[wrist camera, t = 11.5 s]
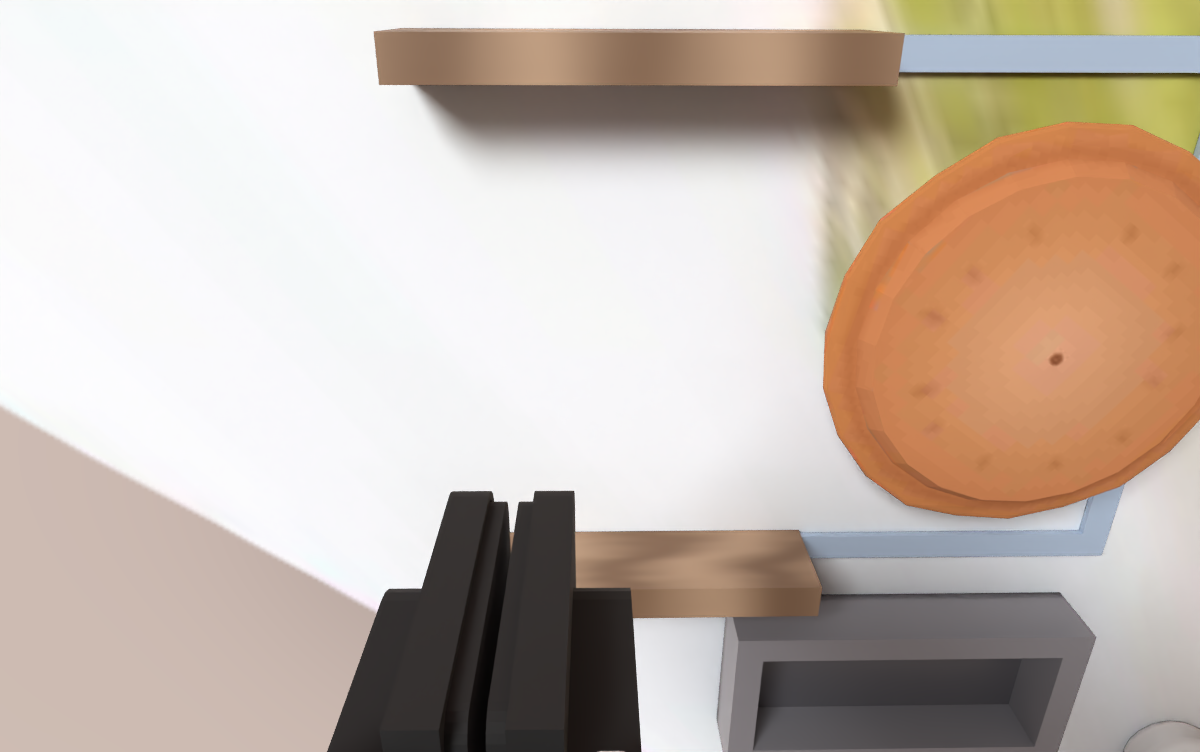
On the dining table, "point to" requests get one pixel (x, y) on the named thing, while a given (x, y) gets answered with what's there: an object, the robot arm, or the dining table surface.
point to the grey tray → (904, 675)
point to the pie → (1024, 324)
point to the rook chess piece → (1165, 738)
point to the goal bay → (1018, 57)
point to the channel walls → (663, 57)
